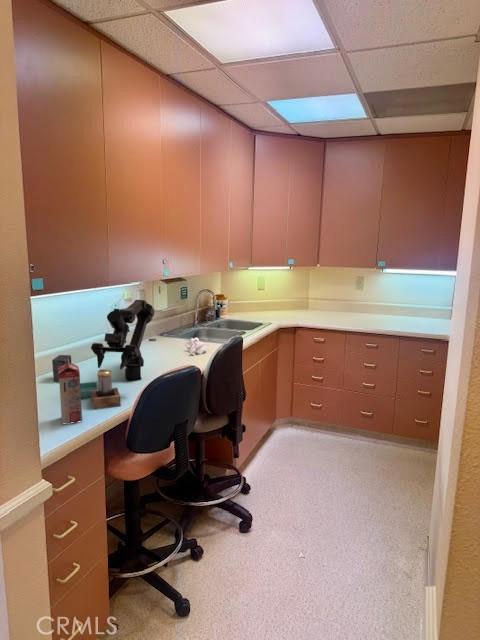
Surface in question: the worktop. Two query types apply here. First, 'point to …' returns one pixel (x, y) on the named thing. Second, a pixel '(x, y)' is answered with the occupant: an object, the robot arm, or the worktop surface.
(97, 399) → the brown square frame
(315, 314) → the worktop surface
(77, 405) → the juice carton
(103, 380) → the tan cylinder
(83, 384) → the teal tray
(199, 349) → the white coral
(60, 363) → the box
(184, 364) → the worktop surface
